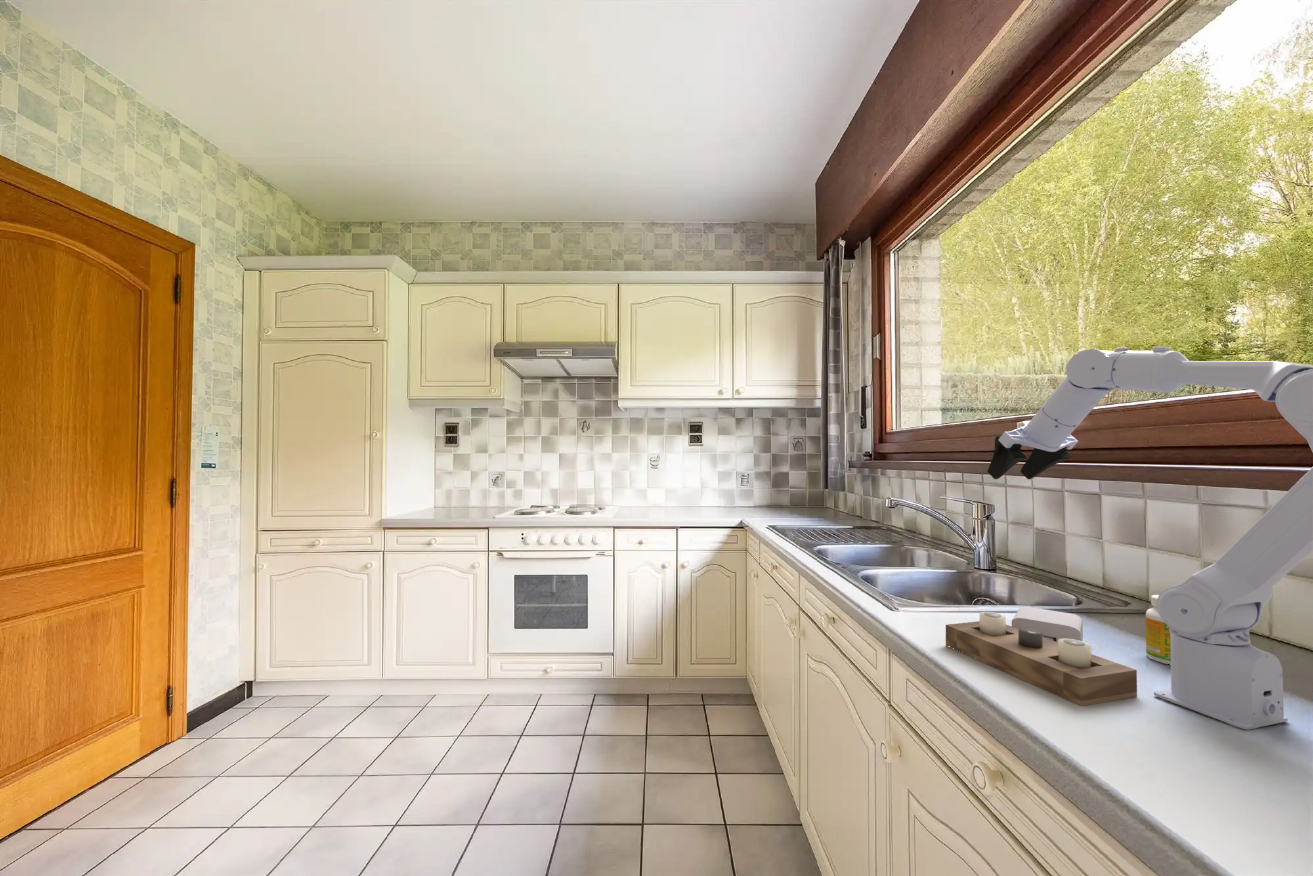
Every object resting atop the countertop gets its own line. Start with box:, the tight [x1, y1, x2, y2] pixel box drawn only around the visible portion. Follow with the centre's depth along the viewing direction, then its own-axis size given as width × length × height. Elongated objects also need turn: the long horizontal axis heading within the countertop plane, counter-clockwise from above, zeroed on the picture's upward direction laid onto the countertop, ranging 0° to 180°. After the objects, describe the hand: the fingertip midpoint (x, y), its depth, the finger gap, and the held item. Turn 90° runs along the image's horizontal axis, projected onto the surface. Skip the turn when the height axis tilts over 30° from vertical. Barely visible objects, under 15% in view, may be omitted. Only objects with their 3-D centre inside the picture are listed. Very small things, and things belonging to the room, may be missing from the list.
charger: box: [1011, 606, 1084, 642], centre depth 95 cm, size 5×9×15 cm
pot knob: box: [1018, 628, 1043, 648], centre depth 81 cm, size 3×3×2 cm
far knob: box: [979, 611, 1007, 637], centre depth 88 cm, size 4×4×3 cm
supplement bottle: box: [1145, 594, 1171, 666], centre depth 85 cm, size 5×5×10 cm
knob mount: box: [945, 620, 1138, 707], centre depth 81 cm, size 22×10×4 cm, turn 16°
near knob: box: [1058, 638, 1092, 669], centre depth 75 cm, size 4×4×3 cm
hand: (1008, 475), depth 97 cm, fingers open, 7 cm apart
